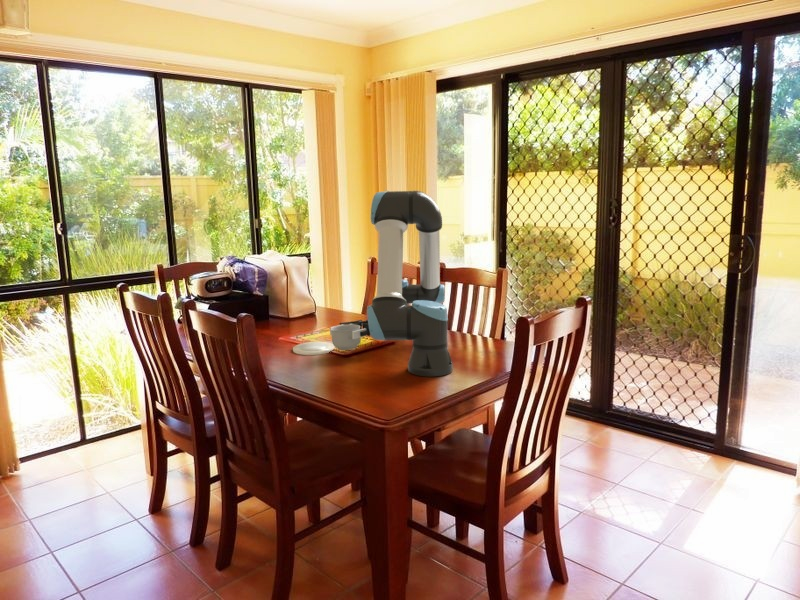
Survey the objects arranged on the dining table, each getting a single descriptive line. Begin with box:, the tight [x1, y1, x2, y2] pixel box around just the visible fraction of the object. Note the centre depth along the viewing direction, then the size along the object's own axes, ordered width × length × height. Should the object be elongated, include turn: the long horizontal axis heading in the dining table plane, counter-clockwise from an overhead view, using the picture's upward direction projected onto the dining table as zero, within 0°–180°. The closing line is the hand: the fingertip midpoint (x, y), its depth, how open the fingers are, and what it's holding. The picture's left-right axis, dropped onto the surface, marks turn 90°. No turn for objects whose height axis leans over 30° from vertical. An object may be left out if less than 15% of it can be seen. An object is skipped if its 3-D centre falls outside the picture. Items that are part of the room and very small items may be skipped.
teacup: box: [330, 324, 362, 351], centre depth 217 cm, size 14×11×8 cm
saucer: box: [292, 341, 336, 356], centre depth 228 cm, size 16×16×1 cm
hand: (341, 333), depth 214 cm, fingers closed on teacup, 11 cm apart
